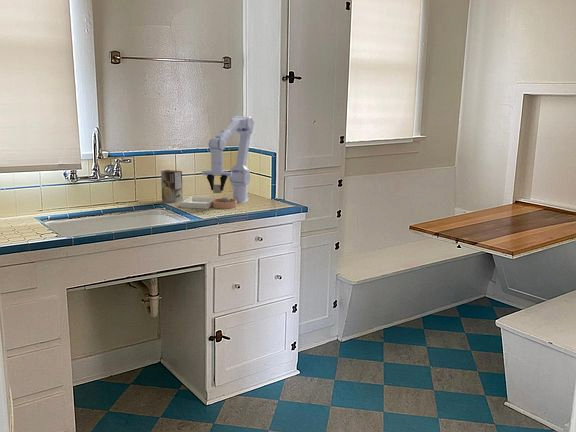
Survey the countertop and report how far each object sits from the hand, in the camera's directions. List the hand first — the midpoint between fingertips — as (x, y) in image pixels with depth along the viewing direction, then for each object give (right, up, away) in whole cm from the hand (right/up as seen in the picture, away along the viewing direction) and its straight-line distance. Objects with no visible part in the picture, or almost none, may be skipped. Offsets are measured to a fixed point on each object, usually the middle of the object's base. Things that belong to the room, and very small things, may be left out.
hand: (217, 190), depth 300 cm
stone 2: (+4, -7, +6) cm, 10 cm away
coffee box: (-25, -6, +16) cm, 30 cm away
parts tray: (-10, -7, +7) cm, 14 cm away
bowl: (+3, -8, +4) cm, 10 cm away
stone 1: (0, -1, 0) cm, 1 cm away
